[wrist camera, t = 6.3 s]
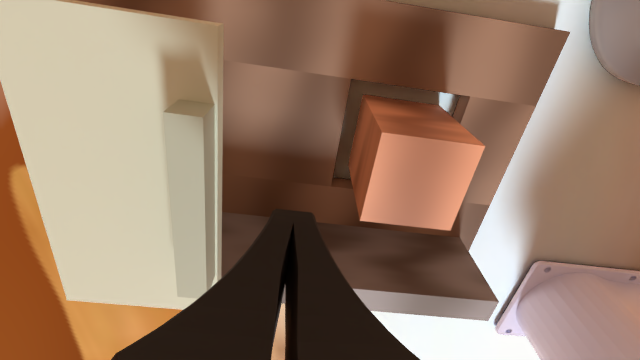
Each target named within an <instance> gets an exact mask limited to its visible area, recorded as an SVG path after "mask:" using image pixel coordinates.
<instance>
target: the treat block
mask: <svg viewBox="0 0 640 360" xmlns="http://www.w3.org/2000/svg"><path fill="white" fill-rule="evenodd" d="M484 148H485V145H483V144H482V143H481V142H480V141H479V140H478V139H477V138H475V137H474V136H473V135H472V134H471V133H470V132H469V131H468V130H466V129H465V128H464V127H463V126H462V125H461V124H460V123H458V122H457V121H456V120H455V119H454V118H453V117H452V116H450V115H449V114H448V113H447V112H446V111H445V110H444V109H443V108H441V107H440V106H439V105H433V104H426V103H419V102H412V101H405V100H399V99H392V98H385V97H378V96H371V95H364V94H363V96H362V101H361V106H360V110H359V115H358V120H357V125H356V130H355V134H354V139H353V144H352V149H351V153H350V158H349V163H348V167H349V172H350V176H351V181H352V186H353V190H354V195H355V200H356V205H357V209H358V214H359V219H360V221H366V222H375V223H385V224H394V225H403V226H412V227H421V228H430V229H439V230H449V231H450V230H451V228H452V225H453V223H454V221H455V218H456V216H457V213H458V211H459V208H460V206H461V204H462V201H463V199H464V196H465V194H466V192H467V189H468V187H469V184H470V182H471V180H472V177H473V175H474V172H475V170H476V168H477V165H478V163H479V160H480V158H481V156H482V153H483V151H484Z"/></svg>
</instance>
